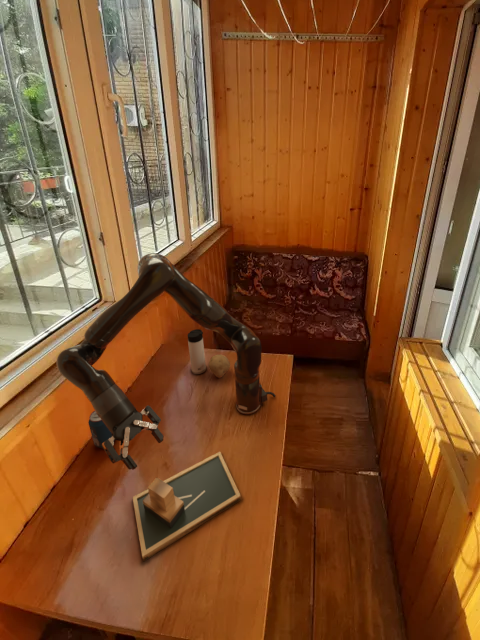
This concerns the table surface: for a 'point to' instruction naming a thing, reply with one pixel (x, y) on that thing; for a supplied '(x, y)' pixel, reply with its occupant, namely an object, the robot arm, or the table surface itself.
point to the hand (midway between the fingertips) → (148, 454)
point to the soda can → (98, 430)
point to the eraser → (163, 503)
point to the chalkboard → (188, 503)
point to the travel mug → (196, 351)
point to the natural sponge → (219, 365)
